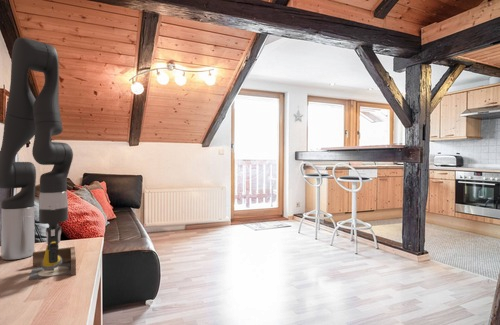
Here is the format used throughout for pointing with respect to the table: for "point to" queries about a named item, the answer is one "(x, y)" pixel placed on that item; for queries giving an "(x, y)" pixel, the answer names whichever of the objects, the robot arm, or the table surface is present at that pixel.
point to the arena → (65, 268)
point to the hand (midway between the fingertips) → (53, 258)
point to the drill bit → (50, 266)
